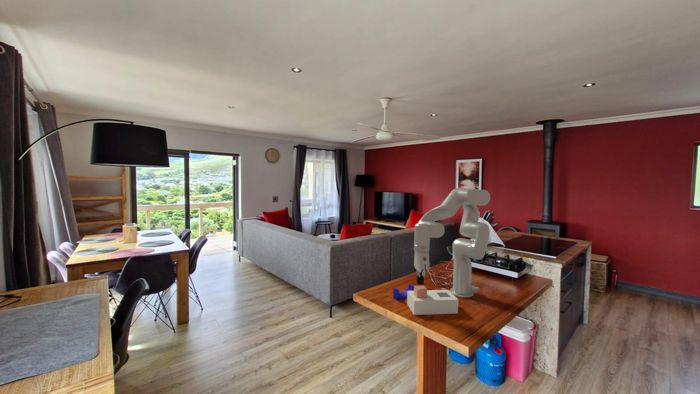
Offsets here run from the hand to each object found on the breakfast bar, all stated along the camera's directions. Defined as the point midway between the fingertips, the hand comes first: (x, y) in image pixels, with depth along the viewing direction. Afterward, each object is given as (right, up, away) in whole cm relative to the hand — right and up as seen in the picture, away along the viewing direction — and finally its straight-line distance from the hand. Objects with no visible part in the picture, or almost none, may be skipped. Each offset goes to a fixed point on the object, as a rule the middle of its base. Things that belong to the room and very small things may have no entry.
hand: (420, 284), depth 143 cm
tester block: (+6, -13, +2) cm, 14 cm away
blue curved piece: (-6, -12, +16) cm, 21 cm away
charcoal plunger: (+12, -12, +2) cm, 18 cm away
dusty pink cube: (0, -8, +1) cm, 9 cm away
